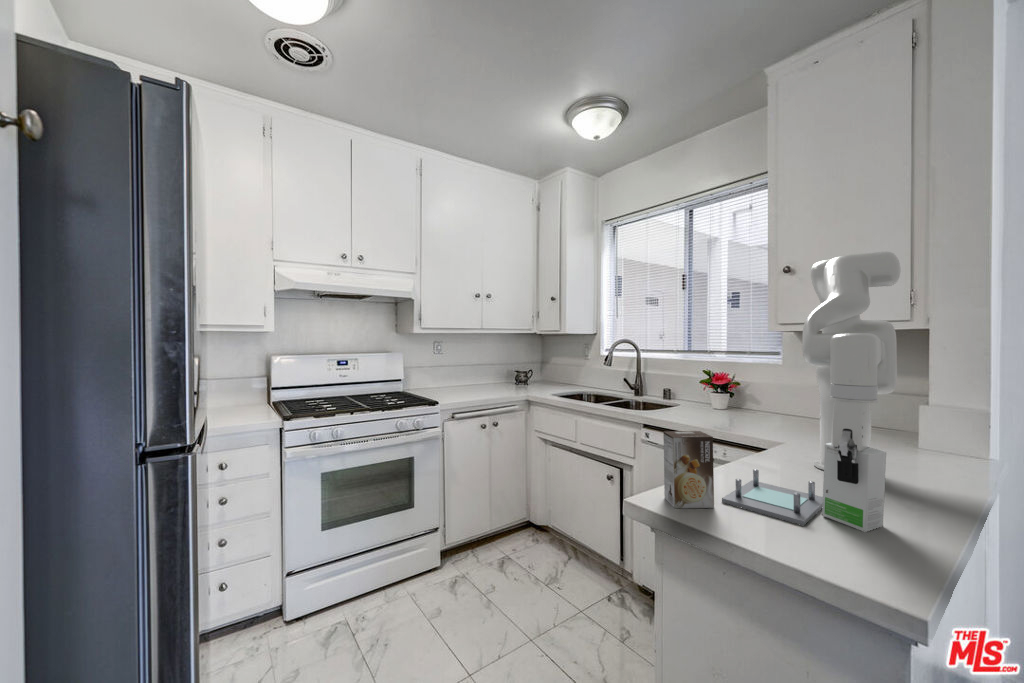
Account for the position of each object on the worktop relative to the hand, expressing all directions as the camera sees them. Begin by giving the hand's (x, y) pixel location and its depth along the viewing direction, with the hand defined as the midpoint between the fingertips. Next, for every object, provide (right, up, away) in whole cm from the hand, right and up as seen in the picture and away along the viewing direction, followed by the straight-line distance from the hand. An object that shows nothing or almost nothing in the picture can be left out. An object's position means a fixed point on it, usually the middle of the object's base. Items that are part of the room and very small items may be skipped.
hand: (853, 477), depth 85 cm
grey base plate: (-9, -9, +11) cm, 17 cm away
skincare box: (0, -10, +1) cm, 10 cm away
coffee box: (-29, -10, +11) cm, 33 cm away
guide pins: (-9, -9, +11) cm, 17 cm away
